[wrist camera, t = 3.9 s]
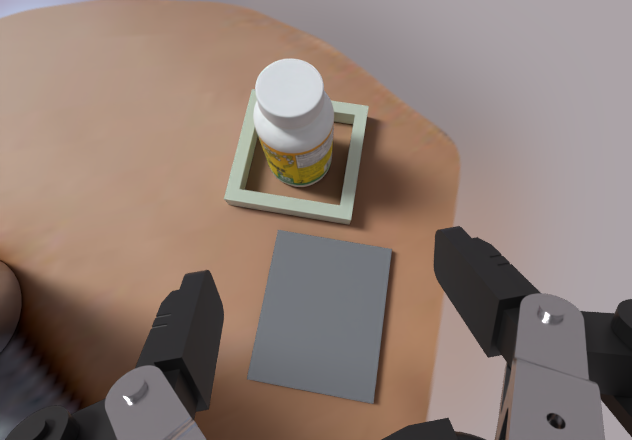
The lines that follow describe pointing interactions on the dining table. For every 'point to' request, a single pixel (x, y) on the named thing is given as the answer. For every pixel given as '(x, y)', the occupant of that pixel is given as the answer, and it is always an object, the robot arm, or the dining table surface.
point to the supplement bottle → (294, 121)
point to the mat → (322, 316)
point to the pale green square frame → (293, 205)
